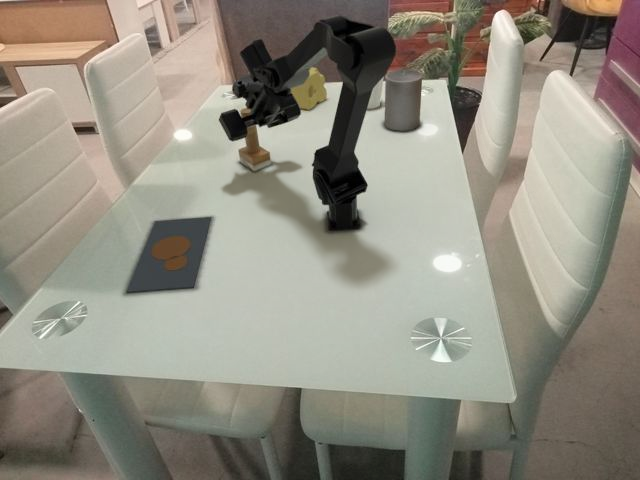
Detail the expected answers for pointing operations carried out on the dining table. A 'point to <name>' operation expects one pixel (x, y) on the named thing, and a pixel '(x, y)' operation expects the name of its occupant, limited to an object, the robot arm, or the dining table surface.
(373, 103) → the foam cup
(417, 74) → the pillar candle
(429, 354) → the dining table surface
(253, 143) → the scrub brush
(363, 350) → the dining table surface
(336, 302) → the dining table surface
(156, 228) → the stain mat
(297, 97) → the cheese
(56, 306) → the dining table surface
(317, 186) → the robot arm
